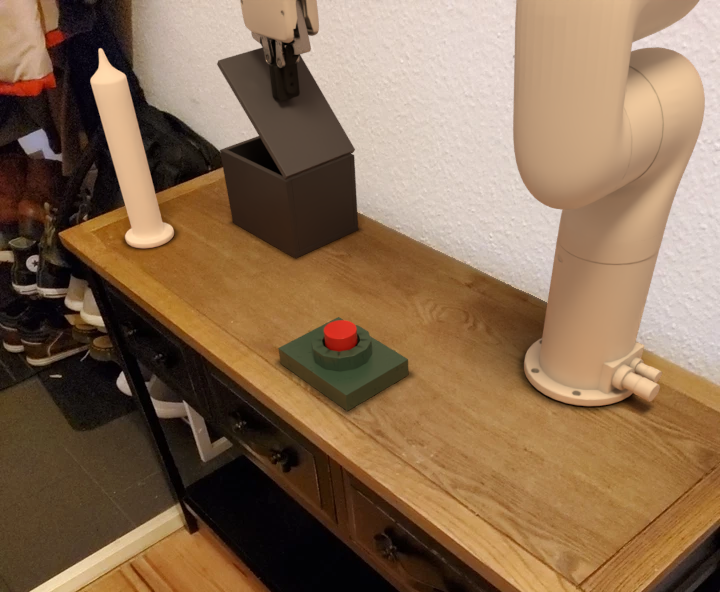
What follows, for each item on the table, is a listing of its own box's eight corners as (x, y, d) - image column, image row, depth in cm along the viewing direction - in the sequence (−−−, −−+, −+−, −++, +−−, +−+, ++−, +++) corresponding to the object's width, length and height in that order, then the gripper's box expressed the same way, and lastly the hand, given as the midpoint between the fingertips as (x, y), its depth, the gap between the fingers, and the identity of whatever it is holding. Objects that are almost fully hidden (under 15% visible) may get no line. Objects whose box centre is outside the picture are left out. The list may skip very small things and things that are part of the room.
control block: (408, 375, 83) (408, 345, 80) (347, 411, 79) (345, 381, 76) (339, 332, 90) (337, 303, 87) (280, 363, 86) (275, 334, 83)
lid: (216, 64, 94) (218, 60, 93) (289, 42, 99) (291, 38, 98) (284, 180, 95) (286, 176, 94) (353, 152, 100) (355, 149, 99)
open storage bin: (232, 222, 111) (219, 149, 104) (293, 197, 116) (285, 126, 109) (295, 258, 103) (286, 181, 95) (358, 229, 108) (354, 154, 100)
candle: (182, 238, 109) (137, 48, 91) (137, 253, 106) (82, 61, 88) (162, 221, 113) (116, 36, 95) (119, 235, 110) (63, 48, 92)
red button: (364, 342, 81) (363, 329, 80) (339, 356, 80) (338, 342, 79) (343, 329, 83) (342, 316, 82) (318, 342, 82) (317, 329, 81)
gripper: (335, -78, 80) (345, 102, 93) (255, -90, 89) (275, 77, 102) (280, -66, 77) (298, 119, 90) (202, -79, 85) (230, 92, 98)
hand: (286, 96), depth 96 cm, fingers closed
